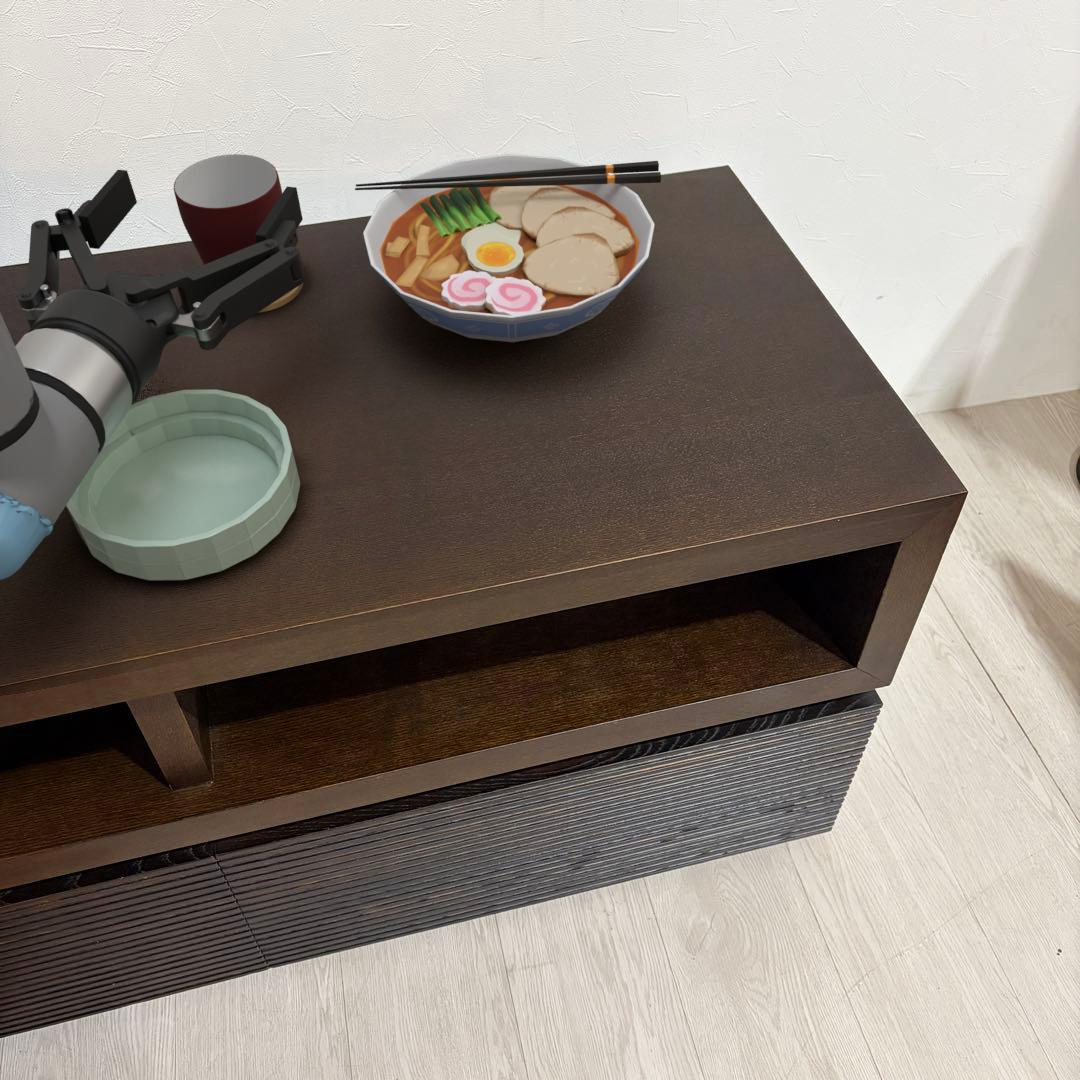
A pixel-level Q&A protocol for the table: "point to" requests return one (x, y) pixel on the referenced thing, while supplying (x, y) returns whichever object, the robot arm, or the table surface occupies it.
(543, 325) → the ramen bowl
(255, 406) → the serving bowl
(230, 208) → the mug
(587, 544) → the table surface
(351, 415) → the table surface
